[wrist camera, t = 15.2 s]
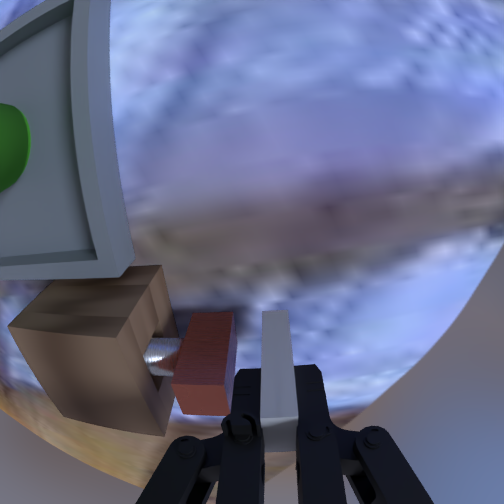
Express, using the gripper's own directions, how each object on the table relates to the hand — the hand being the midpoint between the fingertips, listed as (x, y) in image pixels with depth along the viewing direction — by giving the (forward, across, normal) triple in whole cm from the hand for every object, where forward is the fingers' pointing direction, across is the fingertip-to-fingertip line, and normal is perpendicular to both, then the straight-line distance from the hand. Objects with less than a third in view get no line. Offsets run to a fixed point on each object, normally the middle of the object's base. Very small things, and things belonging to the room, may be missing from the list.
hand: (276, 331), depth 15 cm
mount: (+2, -10, 0) cm, 10 cm away
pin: (0, -7, 0) cm, 7 cm away
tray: (+2, -16, +12) cm, 20 cm away
